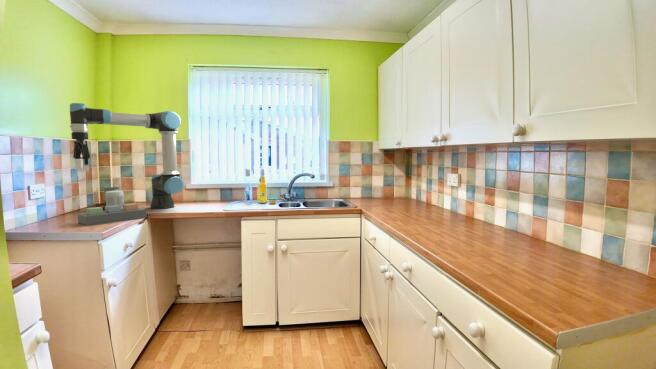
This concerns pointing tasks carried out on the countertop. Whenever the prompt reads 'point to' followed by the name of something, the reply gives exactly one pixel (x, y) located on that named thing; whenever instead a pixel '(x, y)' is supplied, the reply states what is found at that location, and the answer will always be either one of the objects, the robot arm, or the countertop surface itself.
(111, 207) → the slate button
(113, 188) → the milk frother
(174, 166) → the robot arm
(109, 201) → the supplement tub
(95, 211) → the green button
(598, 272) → the countertop surface
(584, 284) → the countertop surface
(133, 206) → the terracotta button
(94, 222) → the console
